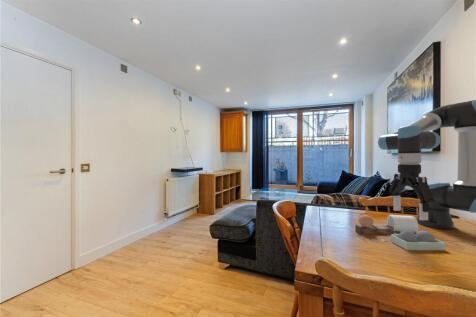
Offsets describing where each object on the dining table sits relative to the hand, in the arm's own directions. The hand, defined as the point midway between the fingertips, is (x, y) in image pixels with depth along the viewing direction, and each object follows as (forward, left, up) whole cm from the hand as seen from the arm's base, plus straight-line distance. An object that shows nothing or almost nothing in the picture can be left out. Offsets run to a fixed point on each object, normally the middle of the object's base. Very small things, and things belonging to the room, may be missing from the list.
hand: (409, 214), depth 87 cm
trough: (-3, 0, -13) cm, 14 cm away
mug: (-11, -20, -14) cm, 26 cm away
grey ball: (-7, 0, -13) cm, 14 cm away
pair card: (+9, -5, -13) cm, 17 cm away
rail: (+5, -15, -13) cm, 20 cm away
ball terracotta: (+9, -15, -10) cm, 20 cm away
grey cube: (+1, 0, -13) cm, 13 cm away
